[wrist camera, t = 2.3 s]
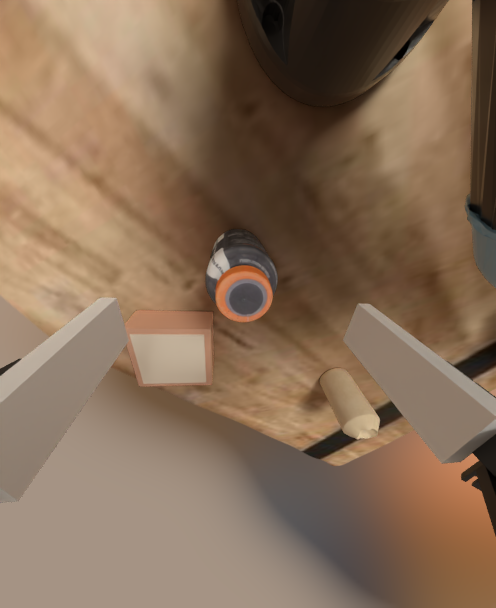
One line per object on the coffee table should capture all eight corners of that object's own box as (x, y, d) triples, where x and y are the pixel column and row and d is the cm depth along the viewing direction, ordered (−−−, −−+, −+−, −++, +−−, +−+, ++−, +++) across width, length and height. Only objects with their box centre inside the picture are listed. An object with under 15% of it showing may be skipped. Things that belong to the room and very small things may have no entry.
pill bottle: (202, 247, 22) (180, 288, 12) (245, 217, 21) (260, 235, 11) (231, 286, 25) (232, 346, 15) (271, 262, 23) (301, 309, 14)
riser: (136, 310, 25) (120, 329, 21) (213, 311, 26) (210, 330, 23) (149, 364, 30) (138, 387, 26) (213, 363, 31) (211, 386, 27)
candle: (317, 389, 37) (345, 448, 28) (320, 369, 34) (352, 428, 25) (345, 385, 37) (381, 443, 28) (350, 365, 34) (392, 422, 26)
